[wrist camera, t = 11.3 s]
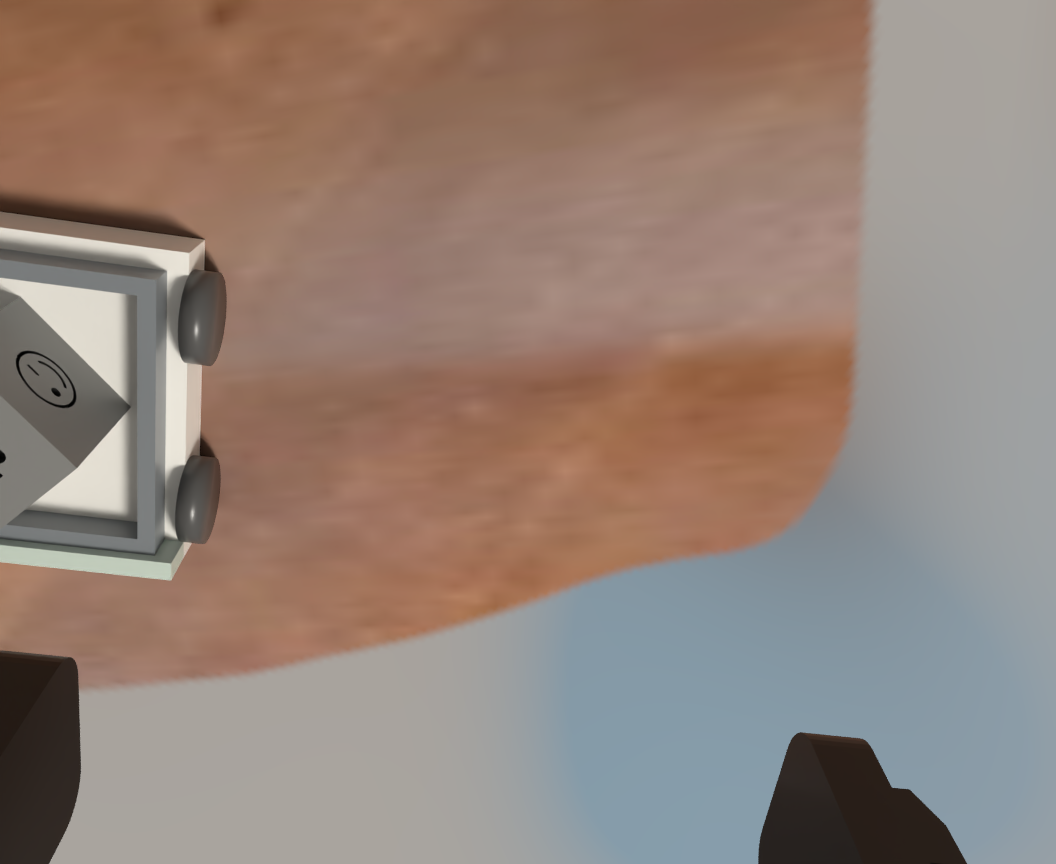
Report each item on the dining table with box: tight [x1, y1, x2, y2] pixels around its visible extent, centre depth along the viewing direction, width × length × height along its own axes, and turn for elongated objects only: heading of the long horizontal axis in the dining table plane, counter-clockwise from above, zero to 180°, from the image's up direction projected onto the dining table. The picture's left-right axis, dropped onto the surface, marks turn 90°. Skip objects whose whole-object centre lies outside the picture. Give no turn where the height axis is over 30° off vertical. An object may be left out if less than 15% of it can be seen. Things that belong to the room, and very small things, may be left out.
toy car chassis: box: [0, 212, 226, 580], centre depth 35 cm, size 12×13×4 cm
